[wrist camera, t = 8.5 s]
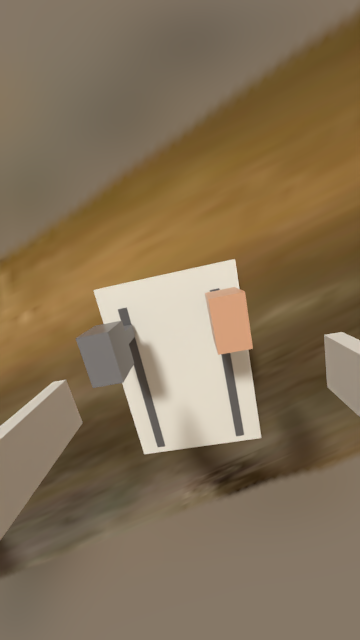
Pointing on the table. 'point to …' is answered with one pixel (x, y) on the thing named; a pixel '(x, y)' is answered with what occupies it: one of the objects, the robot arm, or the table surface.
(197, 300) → the fader panel
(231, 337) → the fader
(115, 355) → the fader
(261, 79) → the table surface
